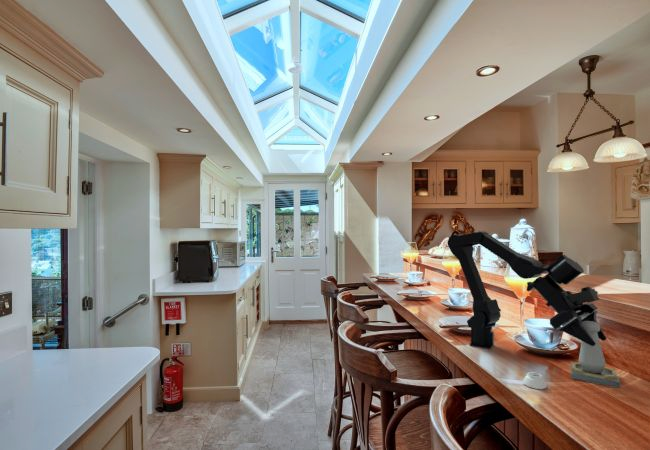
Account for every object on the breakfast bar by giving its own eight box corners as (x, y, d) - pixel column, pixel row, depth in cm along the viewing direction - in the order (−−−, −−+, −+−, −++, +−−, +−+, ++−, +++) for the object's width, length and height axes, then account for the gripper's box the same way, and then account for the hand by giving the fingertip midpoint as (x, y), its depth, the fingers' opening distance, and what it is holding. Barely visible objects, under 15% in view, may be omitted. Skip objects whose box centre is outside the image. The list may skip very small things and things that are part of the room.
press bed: (571, 378, 95) (571, 370, 95) (570, 366, 103) (570, 359, 103) (620, 388, 89) (620, 379, 89) (615, 375, 98) (615, 367, 98)
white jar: (537, 381, 93) (518, 382, 93) (537, 370, 93) (519, 370, 93) (550, 390, 88) (531, 390, 88) (550, 378, 88) (531, 378, 88)
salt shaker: (611, 373, 94) (609, 323, 95) (592, 375, 93) (590, 324, 94) (592, 366, 100) (589, 319, 100) (573, 367, 99) (571, 319, 99)
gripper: (563, 279, 94) (615, 331, 85) (589, 275, 105) (637, 320, 96) (531, 304, 100) (576, 355, 91) (559, 297, 111) (602, 342, 102)
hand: (599, 342), depth 95 cm, fingers open, 8 cm apart
